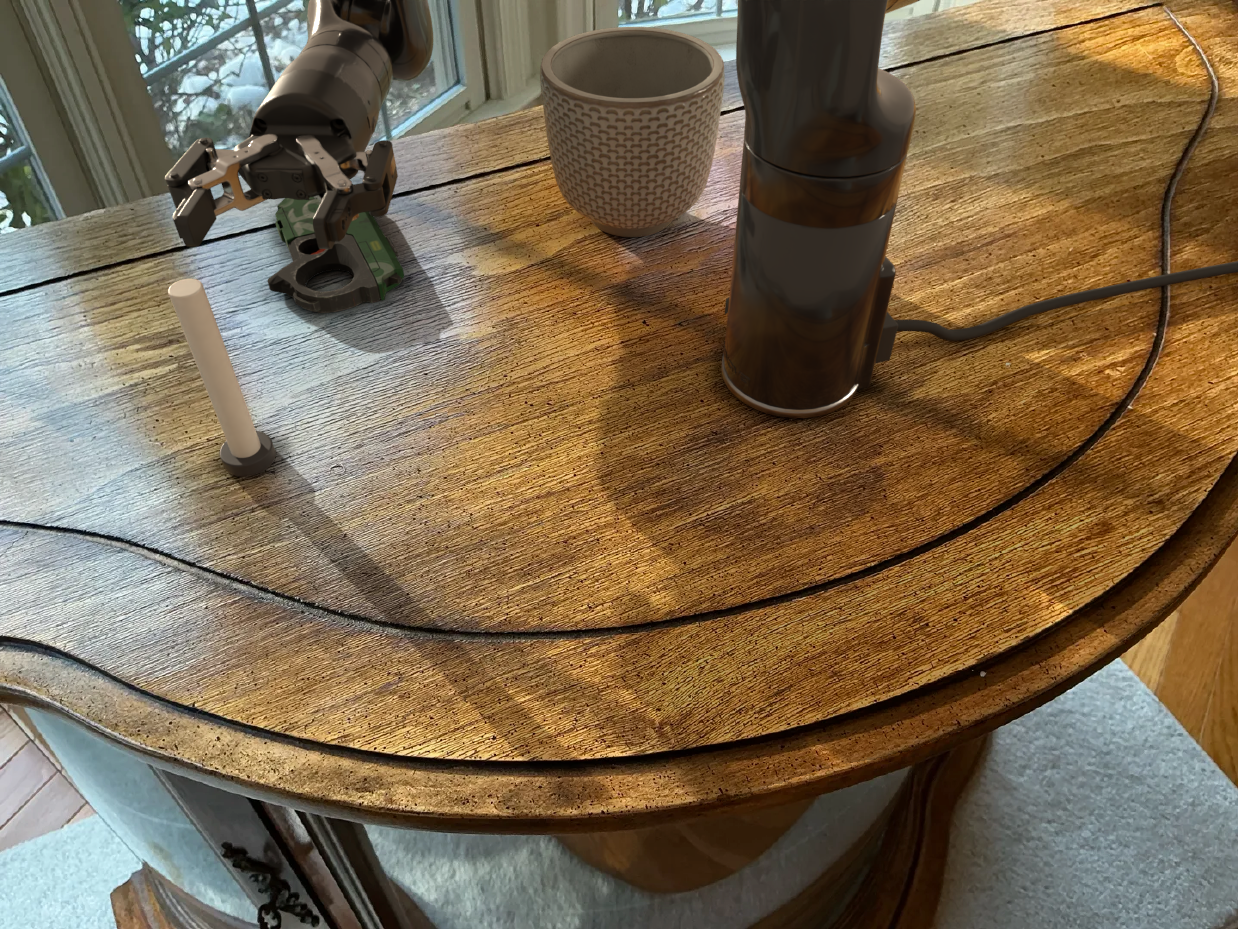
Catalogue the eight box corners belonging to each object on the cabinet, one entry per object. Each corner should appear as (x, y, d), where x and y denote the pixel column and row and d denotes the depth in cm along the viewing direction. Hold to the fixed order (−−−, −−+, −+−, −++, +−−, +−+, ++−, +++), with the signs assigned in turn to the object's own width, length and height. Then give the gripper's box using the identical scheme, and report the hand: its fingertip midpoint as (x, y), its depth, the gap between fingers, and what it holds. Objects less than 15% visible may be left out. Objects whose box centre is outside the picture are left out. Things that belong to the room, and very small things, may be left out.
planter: (577, 165, 89) (571, 17, 79) (729, 186, 86) (741, 35, 77) (525, 247, 79) (512, 90, 70) (694, 273, 76) (704, 113, 67)
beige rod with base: (272, 436, 64) (212, 265, 54) (279, 468, 62) (219, 296, 52) (221, 449, 63) (151, 278, 54) (226, 482, 61) (155, 310, 51)
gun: (238, 203, 81) (357, 177, 84) (243, 219, 82) (360, 192, 85) (278, 310, 71) (412, 275, 74) (283, 326, 72) (415, 291, 75)
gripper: (210, 65, 70) (119, 178, 59) (408, 67, 70) (355, 182, 58) (240, 162, 76) (161, 284, 64) (424, 165, 75) (377, 288, 64)
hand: (253, 235), depth 61 cm, fingers open, 8 cm apart
